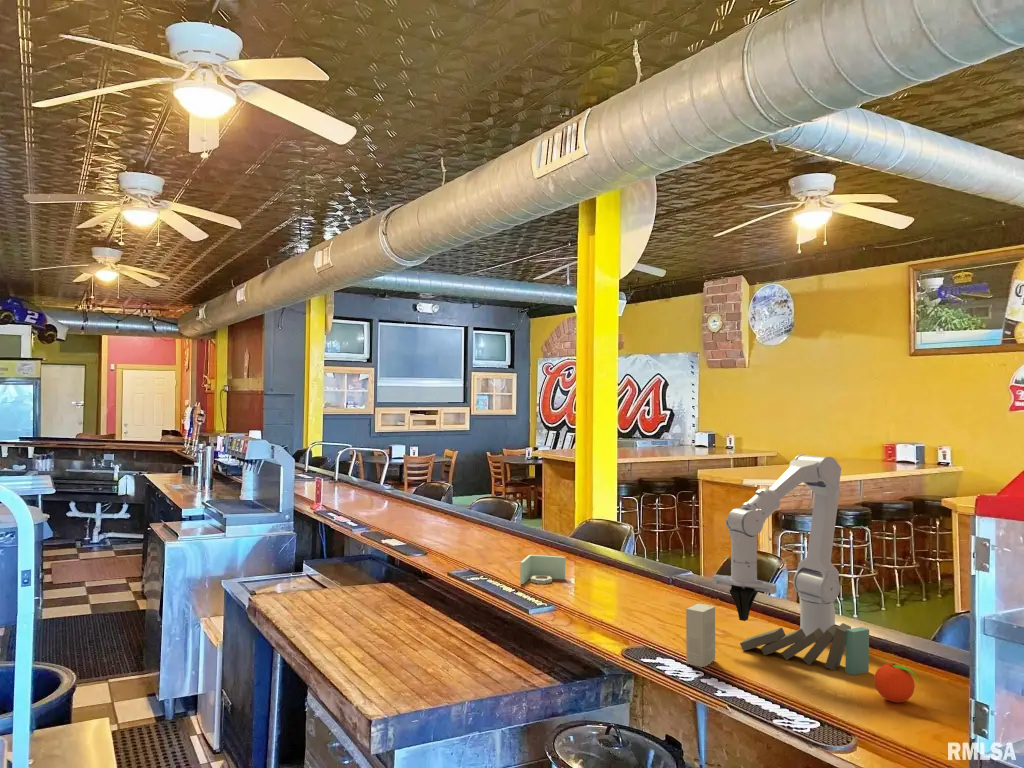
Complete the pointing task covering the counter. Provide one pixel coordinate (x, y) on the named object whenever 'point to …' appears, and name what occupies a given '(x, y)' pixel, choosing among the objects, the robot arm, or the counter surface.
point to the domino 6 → (857, 651)
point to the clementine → (894, 682)
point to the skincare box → (700, 635)
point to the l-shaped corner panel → (542, 569)
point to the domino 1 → (762, 639)
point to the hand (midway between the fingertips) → (743, 619)
